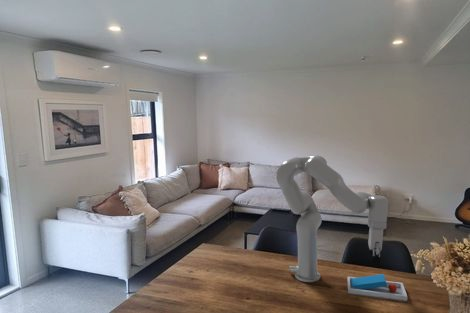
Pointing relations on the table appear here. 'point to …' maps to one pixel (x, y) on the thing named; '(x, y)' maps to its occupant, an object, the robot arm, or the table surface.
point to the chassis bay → (380, 291)
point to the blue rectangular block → (372, 282)
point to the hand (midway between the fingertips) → (374, 259)
